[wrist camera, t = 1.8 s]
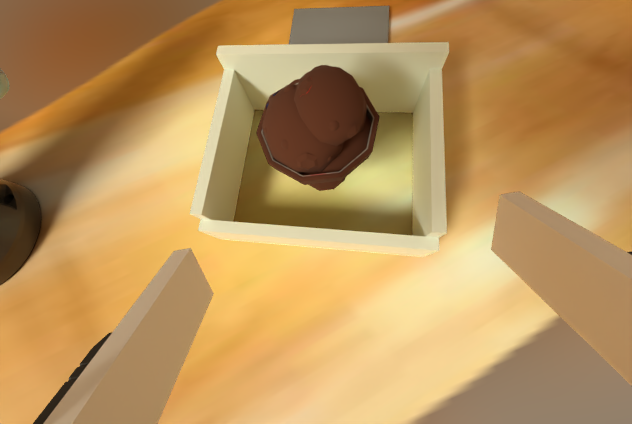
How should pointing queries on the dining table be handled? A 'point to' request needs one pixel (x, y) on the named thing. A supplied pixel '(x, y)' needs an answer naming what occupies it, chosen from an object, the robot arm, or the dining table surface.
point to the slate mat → (340, 25)
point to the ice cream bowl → (318, 127)
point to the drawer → (385, 95)
